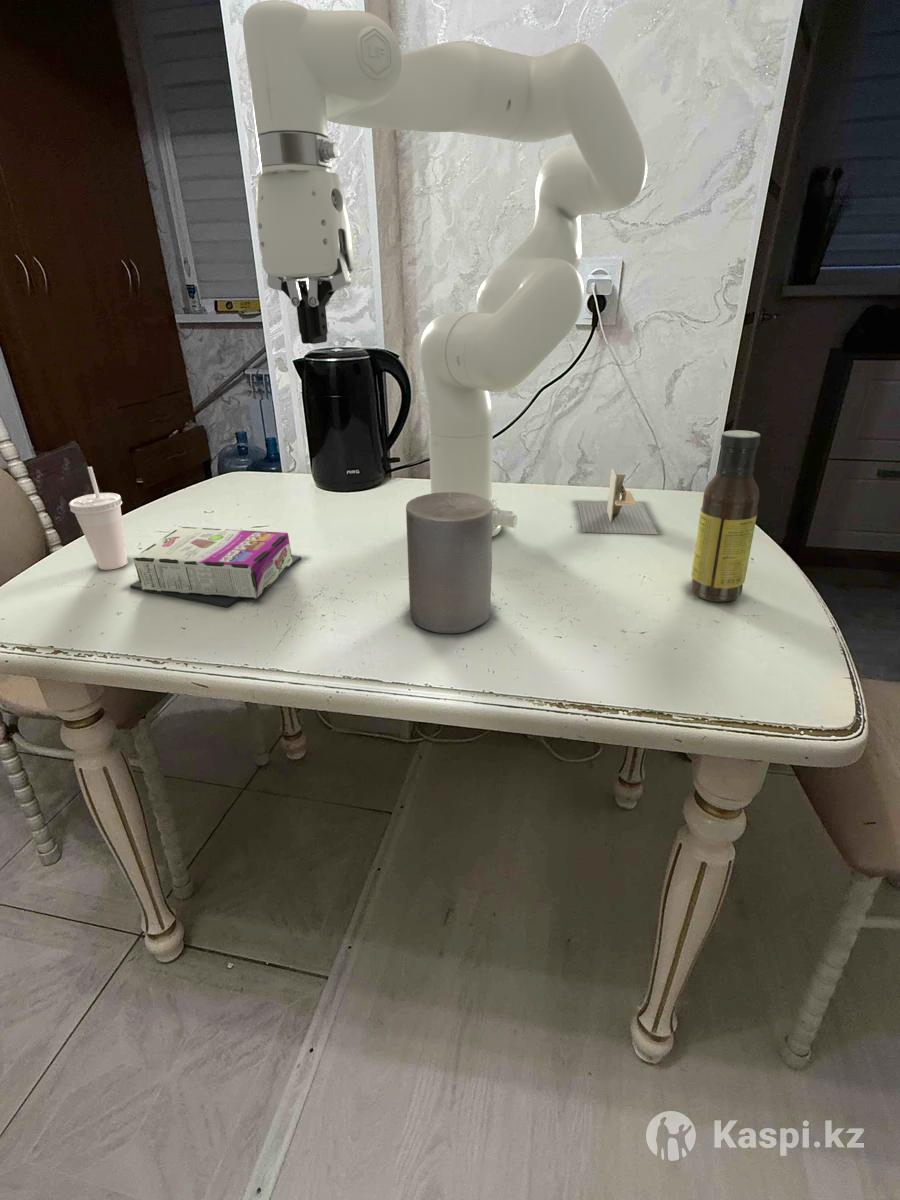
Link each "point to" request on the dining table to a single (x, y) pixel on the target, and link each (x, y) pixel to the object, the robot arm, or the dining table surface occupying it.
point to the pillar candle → (449, 560)
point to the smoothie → (102, 525)
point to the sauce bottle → (727, 520)
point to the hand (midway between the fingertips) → (314, 342)
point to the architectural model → (616, 512)
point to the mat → (210, 599)
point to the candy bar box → (214, 562)
